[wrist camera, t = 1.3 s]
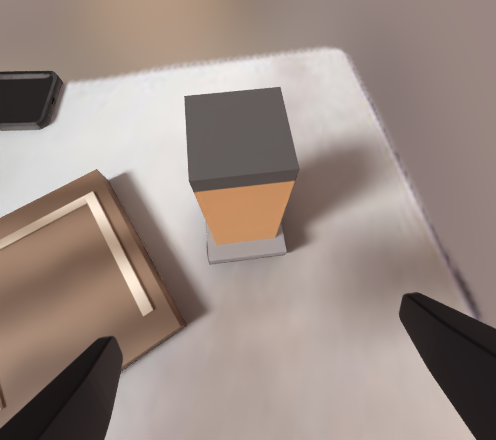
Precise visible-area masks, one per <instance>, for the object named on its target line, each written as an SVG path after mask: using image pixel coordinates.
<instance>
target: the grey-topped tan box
mask: <svg viewBox="0 0 496 440" xmlns="http://www.w3.org/2000/svg"><path fill="white" fill-rule="evenodd" d="M184 97H185V116H186V135H187V154H188V173H189V182H190V185H191V187H192V189H193V192H194V194H195V196H196V199H197V201H198V203H199V206H200V208H201V210H202V213H203V215H204V217H205V219H206V231H207V255H208V261H209V264H217V263H225V262H233V261H241V260H249V259H257V258H264V257H272V256H280V255H285V253H286V252H287V251H286V246H285V239H284V235H283V230H282V224H281V220H282V217H283V214H284V211H285V208H286V205H287V203H288V200H289V197H290V194H291V191H292V188H293V185H294V183H295V180H296V177H297V174H298V171H299V165H298V161H297V157H296V153H295V148H294V144H293V140H292V135H291V131H290V127H289V122H288V118H287V114H286V109H285V105H284V101H283V96H282V92H281V88H280V87H275V88H264V89H254V90H244V91H233V92H223V93H212V94H202V95H191V96H184Z"/></svg>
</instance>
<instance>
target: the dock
mask: <svg viewBox="0 0 496 440" xmlns="http://www.w3.org/2000/svg"><path fill="white" fill-rule="evenodd" d="M185 326H187V325H186V324H185V322H184V320H183V318H182V316H181V314H180V312H179V311H178V309H177V307H176V305H175V303H174V301H173V300H172V298H171V296H170V294H169V292H168V290H167V288H166V287H165V285H164V283H163V281H162V279H161V277H160V275H159V274H158V272H157V270H156V268H155V266H154V264H153V263H152V261H151V259H150V257H149V255H148V253H147V251H146V250H145V248H144V246H143V244H142V242H141V240H140V239H139V237H138V235H137V233H136V231H135V229H134V227H133V226H132V224H131V222H130V220H129V218H128V216H127V214H126V213H125V211H124V209H123V207H122V205H121V203H120V202H119V200H118V198H117V196H116V194H115V192H114V190H113V189H112V187H111V185H110V183H109V181H108V180H107V179H106V178H105V177H104V176H103V175H102V174H101V173H100V172H99V171H98V170H97V169H96V170H94V171H92V172H90V173H88V174H86V175H84V176H82V177H80V178H78V179H76V180H74V181H72V182H70V183H68V184H66V185H64V186H62V187H61V188H59V189H57V190H55V191H53V192H51V193H49V194H47V195H45V196H43V197H41V198H39V199H37V200H35V201H33V202H31V203H29V204H27V205H25V206H23V207H21V208H19V209H17V210H15V211H13V212H11V213H9V214H7V215H5V216H3V217H1V218H0V428H1V427H2V426H3V425H4V424H5V423H6V422H8V421H9V420H10V419H11V418H12V417H13V416H14V415H15V414H16V413H17V412H18V411H19V410H21V409H22V408H23V407H24V406H25V405H26V404H27V403H28V402H29V401H30V400H31V399H32V398H34V397H35V396H36V395H37V394H38V393H39V392H40V391H41V390H42V389H43V388H44V387H45V386H47V385H48V384H49V383H50V382H51V381H52V380H53V379H54V378H55V377H56V376H57V375H59V374H60V373H61V372H62V371H63V370H64V369H65V368H66V367H67V366H68V365H69V364H70V363H72V362H73V361H74V360H75V359H76V358H77V357H78V356H79V355H80V354H81V353H82V352H83V351H85V350H86V349H87V348H88V347H89V346H90V345H91V344H92V343H93V342H94V341H95V340H97V339H98V338H100V337H104V336H111V335H112V336H114V337H115V338H116V339H117V342H118V344H119V346H120V349H121V351H122V354H123V363H122V368H121V370H123V369H124V368H126V367H127V366H129V365H130V364H131V363H133V362H134V361H136V360H137V359H139V358H140V357H142V356H143V355H145V354H146V353H147V352H149V351H150V350H152V349H153V348H155V347H156V346H158V345H159V344H161V343H162V342H164V341H165V340H166V339H168V338H169V337H171V336H172V335H174V334H175V333H177V332H178V331H180V330H181V329H182V328H184V327H185Z"/></svg>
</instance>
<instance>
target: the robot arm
mask: <svg viewBox="0 0 496 440" xmlns="http://www.w3.org/2000/svg"><path fill="white" fill-rule="evenodd" d="M399 317H400V320H401V322H402V324H403V326H404V327H405V329H406V331H407V333H408V334H409V336H410V338H411V340H412V342H413V343H414V345H415V347H416V349H417V351H418V352H419V354H420V356H421V358H422V359H423V361H424V363H425V365H426V366H427V368H428V369H429V371H430V372H431V374H432V376H433V377H434V379H435V380H436V381H437V383H438V384H439V386H440V387H441V389H442V390H443V392H444V393H445V395H446V396H447V398H448V399H449V400H450V402H451V403H452V405H453V406H454V408H455V409H456V411H457V412H458V414H459V415H460V417H461V418H462V419H463V421H464V422H465V424H466V425H467V427H468V428H469V430H470V431H471V433H472V434H473V436H474V437H475V438H476V440H496V329H495V328H493V327H491V326H489V325H486V324H484V323H482V322H480V321H478V320H476V319H474V318H472V317H469V316H467V315H465V314H463V313H461V312H459V311H457V310H455V309H453V308H450V307H448V306H446V305H444V304H442V303H440V302H438V301H436V300H433V299H431V298H429V297H427V296H425V295H423V294H421V293H418V292H413V293H406V294H404V295H403V297H402V301H401V306H400V311H399ZM122 363H123V354H122V351H121V349H120V346H119V344H118V342H117V339H116V338H115V337H114V336H112V335H111V336H104V337H100V338H98V339H97V340H95V341H94V342H93V343H92V344H91V345H90V346H89V347H88V348H87V349H86V350H85V351H83V352H82V353H81V354H80V355H79V356H78V357H77V358H76V359H75V360H74V361H73V362H72V363H70V364H69V365H68V366H67V367H66V368H65V369H64V370H63V371H62V372H61V373H60V374H59V375H57V376H56V377H55V378H54V379H53V380H52V381H51V382H50V383H49V384H48V385H47V386H45V387H44V388H43V389H42V390H41V391H40V392H39V393H38V394H37V395H36V396H35V397H34V398H32V399H31V400H30V401H29V402H28V403H27V404H26V405H25V406H24V407H23V408H22V409H21V410H19V411H18V412H17V413H16V414H15V415H14V416H13V417H12V418H11V419H10V420H9V421H8V422H6V423H5V424H4V425H3V426H2V427H1V428H0V440H104V439H105V436H106V433H107V430H108V426H109V423H110V419H111V415H112V411H113V406H114V401H115V397H116V392H117V387H118V382H119V378H120V373H121V368H122Z"/></svg>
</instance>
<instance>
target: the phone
mask: <svg viewBox="0 0 496 440" xmlns="http://www.w3.org/2000/svg"><path fill="white" fill-rule="evenodd" d="M62 83H63V81H62V80H61V79H60V78H59V76H58V75H57V74H56V73H55V72H53V71H14V72H0V131H7V130H40V129H42V128H44V127H46V126H47V125H48V124H49V122H50V119H51V116H52V113H53V110H54V106H55V103H56V100H57V97H58V94H59V91H60V88H61V84H62ZM53 98H54V102H53V105H52V104H51V103H52V100H53ZM49 115H50V116H49Z"/></svg>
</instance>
